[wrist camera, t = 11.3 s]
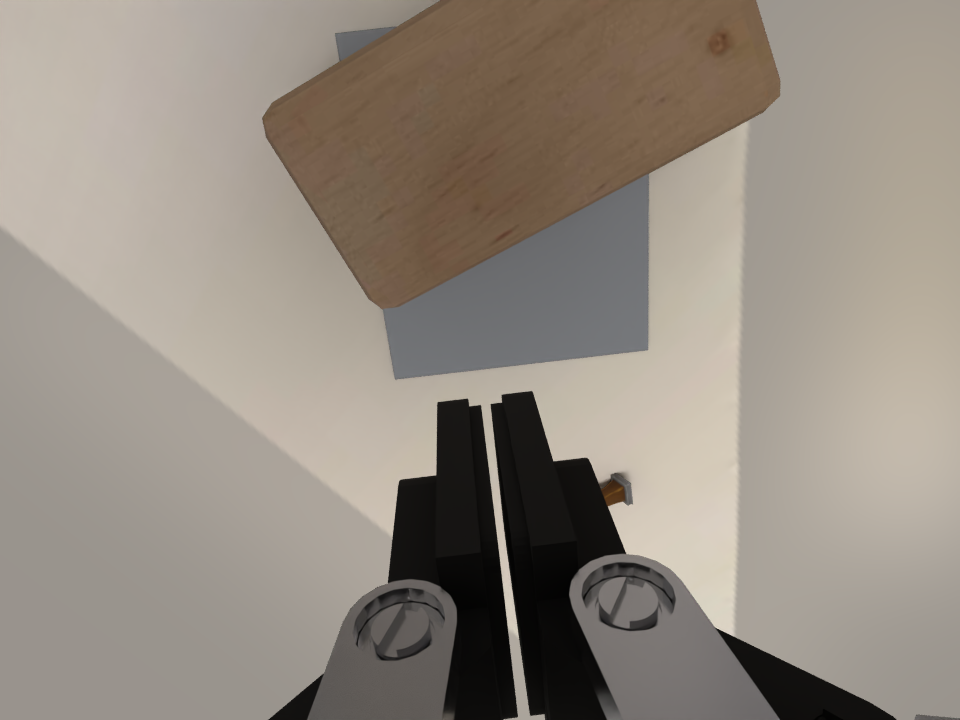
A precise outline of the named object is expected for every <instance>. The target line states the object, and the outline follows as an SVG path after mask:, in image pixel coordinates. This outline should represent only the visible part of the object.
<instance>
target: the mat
mask: <svg viewBox="0 0 960 720" xmlns="http://www.w3.org/2000/svg"><path fill="white" fill-rule="evenodd" d="M394 28H396V27H389V28H380V29H371V30H362V31H353V32H344V33H335V36H336V42H337V48H338V53H339V59H340V61H342V60H343V59H345V58H347V57H348V56H350V55H352V54H353V53H355V52H357V51H358V50H360V49H361V48H363V47H365V46H366V45H368V44H370V43H371V42H373V41H375V40H376V39H378V38H380V37H381V36H383V35H385V34H386V33H388V32H389V31H391V30H393V29H394ZM648 210H649V174H647V175H645V176H643V177H641V178H639V179H637V180H636V181H634V182H632V183H630V184H628V185H626V186H624V187H623V188H621V189H619V190H617V191H615V192H613V193H611V194H609V195H608V196H606V197H604V198H602V199H600V200H598V201H596V202H594V203H593V204H591V205H589V206H587V207H585V208H583V209H581V210H579V211H578V212H576V213H574V214H572V215H570V216H568V217H566V218H564V219H563V220H561V221H559V222H557V223H555V224H553V225H551V226H550V227H548V228H546V229H544V230H542V231H540V232H538V233H536V234H535V235H533V236H531V237H529V238H527V239H525V240H523V241H521V242H520V243H518V244H516V245H514V246H512V247H510V248H508V249H506V250H505V251H503V252H501V253H499V254H497V255H495V256H493V257H491V258H490V259H488V260H486V261H484V262H482V263H480V264H478V265H477V266H475V267H473V268H471V269H469V270H467V271H465V272H463V273H462V274H460V275H458V276H456V277H454V278H452V279H450V280H448V281H447V282H445V283H443V284H441V285H439V286H437V287H435V288H433V289H432V290H430V291H428V292H426V293H424V294H422V295H420V296H418V297H417V298H415V299H413V300H411V301H409V302H407V303H405V304H404V305H402V306H400V307H395V308H386V309H383V313H384V319H385V324H386V330H387V336H388V342H389V347H390V353H391V359H392V365H393V370H394V376H395V379H404V378H412V377H421V376H429V375H438V374H447V373H455V372H464V371H473V370H481V369H490V368H498V367H507V366H516V365H524V364H533V363H542V362H550V361H559V360H568V359H576V358H585V357H593V356H602V355H611V354H619V353H628V352H637V351H645V350H648Z"/></svg>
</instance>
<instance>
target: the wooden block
mask: <svg viewBox="0 0 960 720" xmlns="http://www.w3.org/2000/svg"><path fill="white" fill-rule="evenodd" d="M779 96H780V78H779V74H778V71H777V68H776V65H775V61H774V58H773V55H772V51H771V48H770V45H769V42H768V38H767V35H766V32H765V28H764V25H763V22H762V18H761V15H760V12H759V9H758V5H757V2H756V0H440V1H439V2H437V3H436V4H434V5H432V6H431V7H429V8H427V9H426V10H424V11H422V12H421V13H419V14H417V15H416V16H414V17H413V18H411V19H409V20H408V21H406V22H404V23H403V24H401V25H399V26H398V27H396V28H394V29H393V30H391V31H389V32H388V33H386V34H385V35H383V36H381V37H380V38H378V39H376V40H375V41H373V42H371V43H370V44H368V45H366V46H365V47H363V48H361V49H360V50H358V51H357V52H355V53H353V54H352V55H350V56H348V57H347V58H345V59H343V60H342V61H340V62H338V63H337V64H335V65H333V66H332V67H330V68H329V69H327V70H325V71H324V72H322V73H320V74H319V75H317V76H315V77H314V78H312V79H310V80H309V81H307V82H305V83H304V84H302V85H301V86H299V87H297V88H296V89H294V90H292V91H291V92H289V93H287V94H286V95H284V96H282V97H281V98H279V99H278V100H276V101H274V102H273V103H272V104H271V105H270V107H269V108H268V110H267V112H266V113H265V115H264V116H263V118H262V120H263V124H264V129H265V134H266V138H267V140H268V141H269V143H270V144H271V146H272V147H273V149H274V151H275V152H276V154H277V155H278V157H279V158H280V160H281V162H282V163H283V165H284V166H285V168H286V169H287V171H288V173H289V174H290V176H291V177H292V179H293V180H294V182H295V184H296V185H297V187H298V188H299V190H300V191H301V193H302V195H303V196H304V198H305V199H306V201H307V203H308V204H309V206H310V207H311V209H312V210H313V212H314V214H315V215H316V217H317V218H318V220H319V221H320V223H321V225H322V226H323V228H324V229H325V231H326V232H327V234H328V236H329V237H330V239H331V240H332V242H333V243H334V245H335V247H336V248H337V250H338V251H339V253H340V254H341V256H342V258H343V259H344V261H345V262H346V264H347V265H348V267H349V269H350V270H351V272H352V273H353V275H354V277H355V278H356V280H357V281H358V283H359V284H360V286H361V288H362V289H363V291H364V292H365V294H366V295H367V297H368V299H369V300H371V301H372V302H374V303H375V304H376V305H378V306H379V307H380V308H381V309H386V308H395V307H400V306H402V305H404V304H405V303H407V302H409V301H411V300H413V299H415V298H417V297H418V296H420V295H422V294H424V293H426V292H428V291H430V290H432V289H433V288H435V287H437V286H439V285H441V284H443V283H445V282H447V281H448V280H450V279H452V278H454V277H456V276H458V275H460V274H462V273H463V272H465V271H467V270H469V269H471V268H473V267H475V266H477V265H478V264H480V263H482V262H484V261H486V260H488V259H490V258H491V257H493V256H495V255H497V254H499V253H501V252H503V251H505V250H506V249H508V248H510V247H512V246H514V245H516V244H518V243H520V242H521V241H523V240H525V239H527V238H529V237H531V236H533V235H535V234H536V233H538V232H540V231H542V230H544V229H546V228H548V227H550V226H551V225H553V224H555V223H557V222H559V221H561V220H563V219H564V218H566V217H568V216H570V215H572V214H574V213H576V212H578V211H579V210H581V209H583V208H585V207H587V206H589V205H591V204H593V203H594V202H596V201H598V200H600V199H602V198H604V197H606V196H608V195H609V194H611V193H613V192H615V191H617V190H619V189H621V188H623V187H624V186H626V185H628V184H630V183H632V182H634V181H636V180H637V179H639V178H641V177H643V176H645V175H647V174H649V173H651V172H652V171H654V170H656V169H658V168H660V167H662V166H664V165H666V164H667V163H669V162H671V161H673V160H675V159H677V158H679V157H681V156H682V155H684V154H686V153H688V152H690V151H692V150H694V149H696V148H697V147H699V146H701V145H703V144H705V143H707V142H709V141H711V140H712V139H714V138H716V137H718V136H720V135H722V134H724V133H725V132H727V131H729V130H731V129H733V128H735V127H737V126H739V125H740V124H742V123H744V122H746V121H748V120H750V119H752V118H754V117H755V116H757V115H759V114H761V113H763V112H764V111H765V110H766V109H767V108H768V107H769V106H770V105H771V104H772V103H773V102H774V101H775V100H776V99H777V98H778V97H779Z"/></svg>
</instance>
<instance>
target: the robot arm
mask: <svg viewBox="0 0 960 720" xmlns="http://www.w3.org/2000/svg"><path fill="white" fill-rule="evenodd" d="M491 412H492V422H493V431H494V440H495V449H496V458H497V468H498V477H499V486H500V495H501V504H502V514H503V523H504V532H505V540H506V547H507V555H508V562H509V569H510V576H511V583H512V590H513V597H514V605H515V612H516V619H517V626H518V633H519V640H520V647H521V655H522V662H523V668H524V676H525V683H526V690H527V697H528V705H529V711H530V715H531V716H532V715H541V714H545V720H896V719H895V718H894V717H893V716H891V715H890V714H888V713H886V712H885V711H883V710H881V709H880V708H878V707H876V706H874V705H873V704H872V703H870V702H868V701H866V700H864V699H862V698H859V697H857V696H855V695H853V694H851V693H849V692H847V691H845V690H843V689H841V688H839V687H837V686H835V685H833V684H831V683H829V682H826V681H824V680H822V679H820V678H818V677H816V676H814V675H812V674H810V673H808V672H806V671H804V670H802V669H800V668H797V667H795V666H793V665H791V664H789V663H787V662H785V661H783V660H781V659H779V658H777V657H775V656H773V655H771V654H769V653H766V652H764V651H762V650H760V649H758V648H756V647H754V646H752V645H750V644H747V643H746V642H744V641H741V640H740V639H737V638H735V637H733V636H731V635H729V634H727V633H725V632H723V631H721V630H719V629H717V628H715V627H714V626H713V624H712V623H711V621H710V620H709V619H708V617H707V616H706V614H705V613H704V612H703V610H702V609H701V607H700V606H699V604H698V603H697V602H696V600H695V599H694V597H693V596H692V595H691V593H690V592H689V590H688V589H687V588H686V586H685V585H684V583H683V582H682V581H681V580H680V579H679V578H678V576H677V575H676V574H675V573H674V572H673V571H672V570H671V569H669V568H667V567H666V566H664V565H662V564H661V563H659V562H657V561H655V560H652V559H649V558H646V557H642V556H639V555H629V554H626V552H625V550H624V547H623V544H622V542H621V539H620V537H619V534H618V532H617V529H616V527H615V524H614V522H613V519H612V516H611V514H610V511H609V509H608V506H607V504H606V501H605V499H604V496H603V494H602V491H601V488H600V486H599V483H598V481H597V478H596V476H595V473H594V471H593V468H592V466H591V463H590V461H589V459H588V458H580V459H571V460H563V461H554V462H553V459H552V455H551V452H550V449H549V445H548V442H547V438H546V435H545V432H544V428H543V425H542V422H541V418H540V415H539V411H538V408H537V405H536V401H535V398H534V395H533V392H532V391H529V392H520V393H512V394H503V395H502V403H496V404H491ZM515 717H518V714H517V705H516V696H515V688H514V679H513V671H512V662H511V653H510V644H509V635H508V626H507V618H506V609H505V600H504V592H503V583H502V574H501V566H500V557H499V549H498V540H497V532H496V524H495V516H494V508H493V500H492V491H491V483H490V475H489V467H488V459H487V451H486V442H485V434H484V426H483V418H482V410H481V405H479V406H470V407H469V402H468V399H461V400H453V401H444V402H438V404H437V474H436V476H428V477H420V478H411V479H403V480H400V481H399V485H398V494H397V503H396V512H395V521H394V531H393V540H392V549H391V559H390V568H389V577H388V584H385V585H382V586H379V587H377V588H375V589H374V590H372V591H370V592H369V593H367V594H366V595H364V596H362V598H360V599H359V600H358V601H357V602H356V604H354V605H353V607H352V608H351V609H350V610H349V612H348V614H347V616H346V618H345V620H344V621H343V623H342V626H341V629H340V631H339V634H338V637H337V640H336V642H335V645H334V648H333V651H332V653H331V656H330V659H329V661H328V664H327V667H326V670H325V672H324V674H323V675H321V676H320V677H319V678H318V679H316V680H315V681H314V682H313V683H312V684H310V685H309V686H308V687H307V688H306V689H304V690H303V691H302V692H301V693H300V694H299V695H297V696H296V697H295V698H294V699H293V700H291V701H290V702H289V703H288V704H287V705H285V706H284V707H283V708H282V709H281V710H279V711H278V712H277V713H276V714H275V715H274V716H273V717H271V718H270V719H269V720H503V719H508V718H515ZM915 720H960V718H948V717H938V716H927V715H916V717H915Z"/></svg>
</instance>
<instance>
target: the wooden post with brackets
mask: <svg viewBox="0 0 960 720" xmlns="http://www.w3.org/2000/svg"><path fill="white" fill-rule="evenodd" d="M601 491H602V494H603V496H604V499H605V501H606V504H607V506H610V505H613V504H615V503H619V502H624V503H625V504H627V505H628V506H629V505H630V504H633V499H632V490H631V483H630V482H628V481H627V480H625V479H624V478H623V477H621V476H620V475H618V474H617V473H614V474H612V475H611V482H610V483H609V484H608V485H607V486H605V487H604V488H603V489H601Z"/></svg>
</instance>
